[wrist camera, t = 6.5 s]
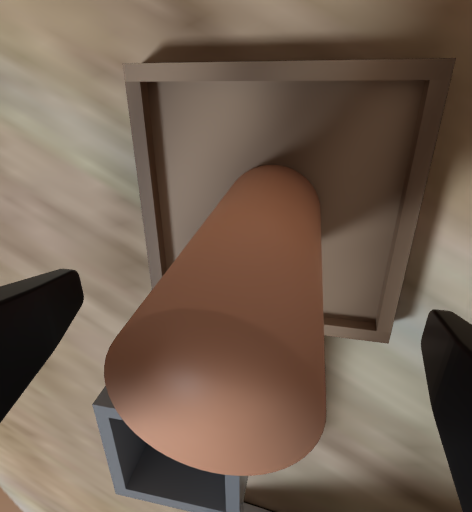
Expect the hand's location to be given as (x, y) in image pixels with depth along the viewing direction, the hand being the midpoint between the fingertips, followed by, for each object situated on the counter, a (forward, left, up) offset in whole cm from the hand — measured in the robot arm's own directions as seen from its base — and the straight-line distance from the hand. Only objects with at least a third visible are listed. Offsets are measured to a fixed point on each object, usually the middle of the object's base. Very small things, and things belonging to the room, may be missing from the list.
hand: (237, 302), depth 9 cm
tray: (0, 0, -8) cm, 8 cm away
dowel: (0, 0, -7) cm, 7 cm away
